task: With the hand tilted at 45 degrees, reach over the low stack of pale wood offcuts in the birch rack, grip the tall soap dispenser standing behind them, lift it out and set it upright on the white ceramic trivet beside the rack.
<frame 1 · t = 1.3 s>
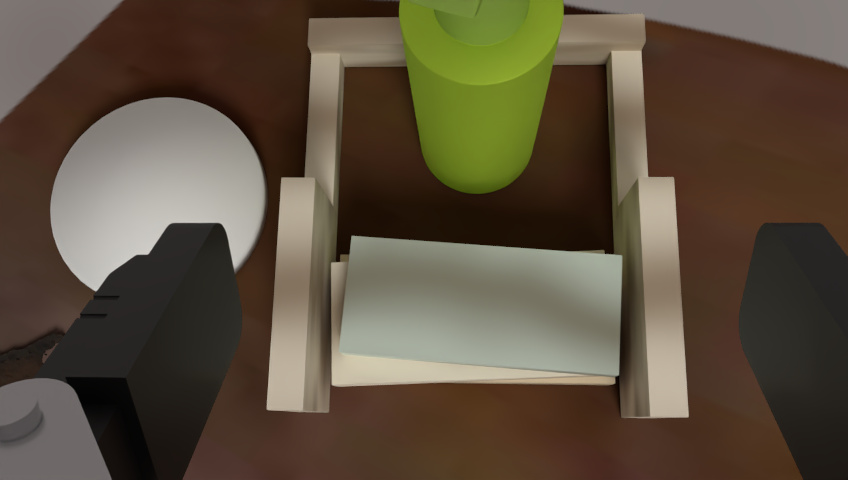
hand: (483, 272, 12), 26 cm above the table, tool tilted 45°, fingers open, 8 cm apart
soap dispenser: (473, 150, 40), resting in offcut rack
ceramic trivet: (165, 204, 40), on the table
offcut rack: (473, 204, 39), on the table
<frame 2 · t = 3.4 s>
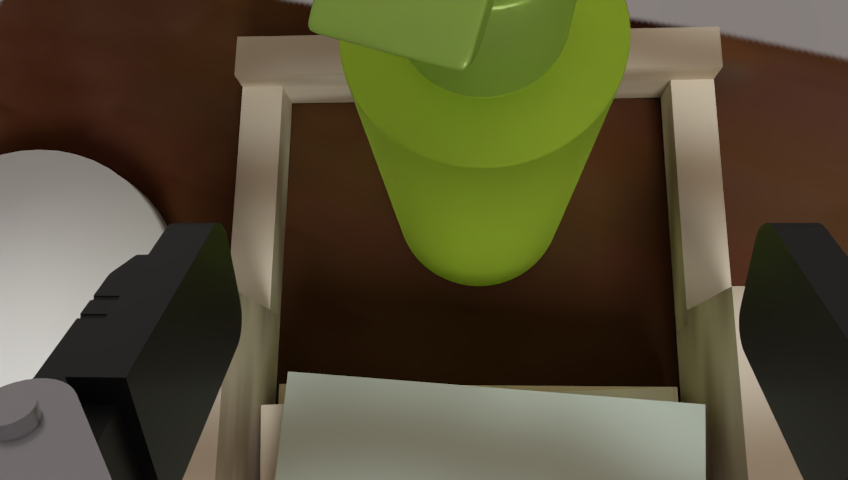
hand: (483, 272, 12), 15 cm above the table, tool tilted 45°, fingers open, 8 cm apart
soap dispenser: (474, 222, 28), resting in offcut rack
ceramic trivet: (36, 301, 28), on the table
offcut rack: (474, 302, 27), on the table
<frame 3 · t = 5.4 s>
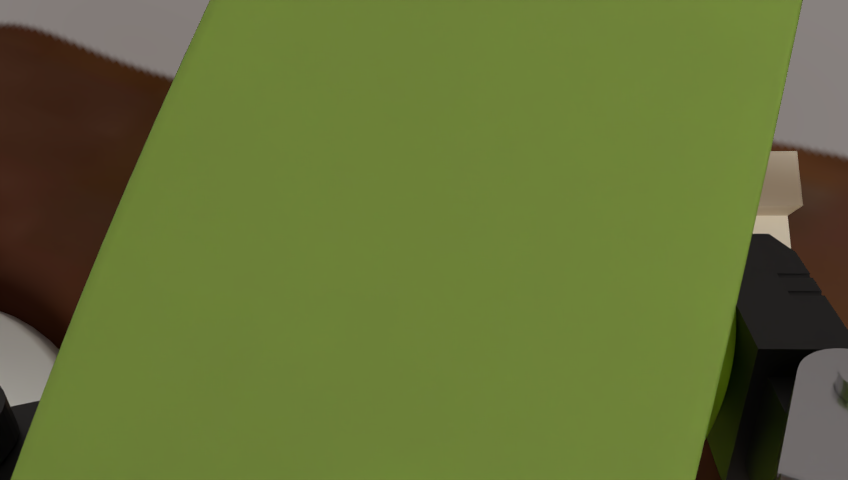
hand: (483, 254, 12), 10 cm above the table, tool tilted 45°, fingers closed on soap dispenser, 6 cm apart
soap dispenser: (476, 391, 22), resting in offcut rack, touching gripper
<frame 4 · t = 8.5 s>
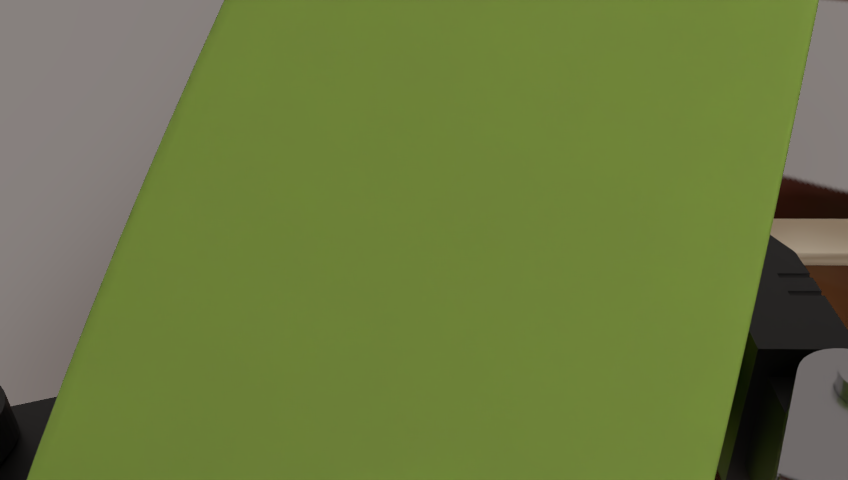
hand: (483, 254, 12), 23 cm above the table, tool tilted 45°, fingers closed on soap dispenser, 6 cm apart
soap dispenser: (477, 391, 22), point 13 cm above the table, touching gripper
offcut rack: (745, 439, 33), on the table
when the fingers open (12 cm above the table, at t = 11.7 s): soap dispenser stays where it is, resting on ceramic trivet.
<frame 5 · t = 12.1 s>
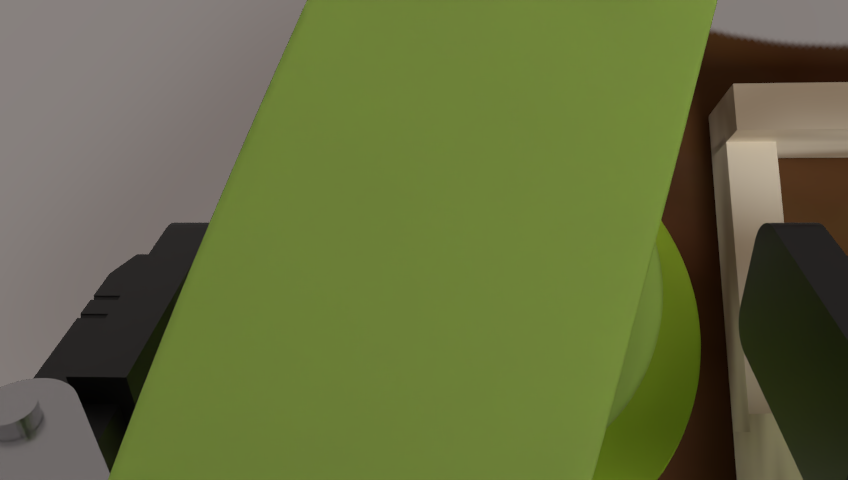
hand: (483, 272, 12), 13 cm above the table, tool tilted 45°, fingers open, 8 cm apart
soap dispenser: (473, 400, 23), point 1 cm above the table, touching ceramic trivet
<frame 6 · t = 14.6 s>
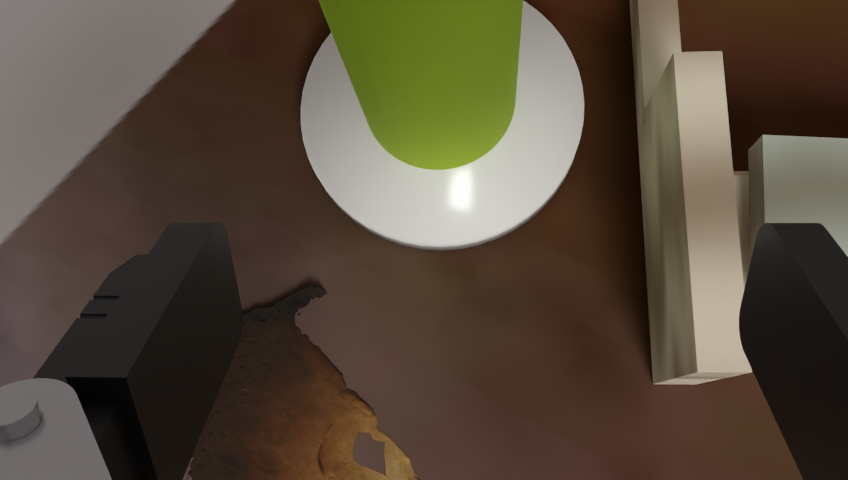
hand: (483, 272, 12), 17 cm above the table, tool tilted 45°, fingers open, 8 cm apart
soap dispenser: (435, 112, 30), point 1 cm above the table, touching ceramic trivet
ceramic trivet: (442, 117, 31), on the table
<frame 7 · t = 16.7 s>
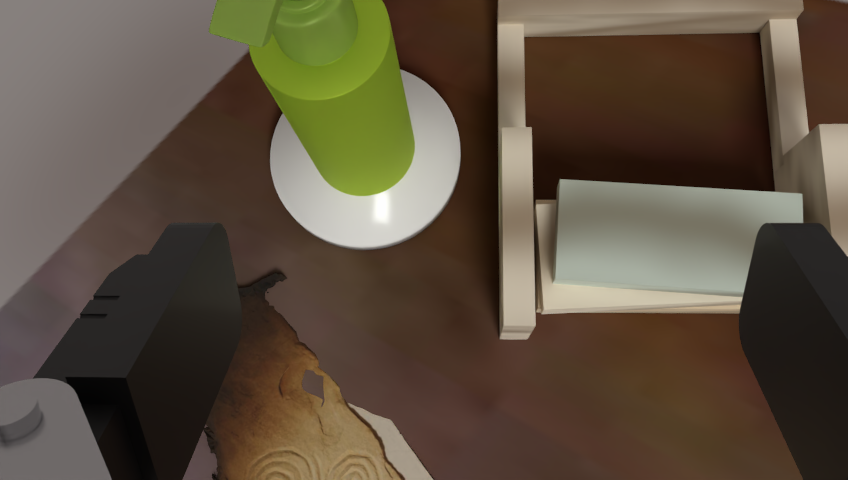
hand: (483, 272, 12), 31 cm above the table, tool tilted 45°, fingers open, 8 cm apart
soap dispenser: (361, 156, 44), point 1 cm above the table, touching ceramic trivet
ceramic trivet: (367, 159, 45), on the table
offcut rack: (646, 157, 44), on the table
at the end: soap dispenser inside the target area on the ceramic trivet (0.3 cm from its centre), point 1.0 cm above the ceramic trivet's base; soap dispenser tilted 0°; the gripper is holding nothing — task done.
